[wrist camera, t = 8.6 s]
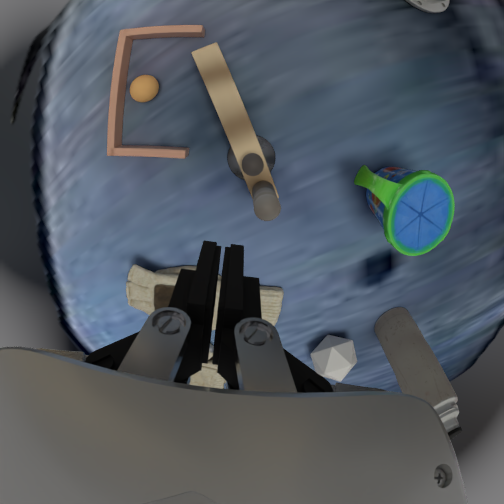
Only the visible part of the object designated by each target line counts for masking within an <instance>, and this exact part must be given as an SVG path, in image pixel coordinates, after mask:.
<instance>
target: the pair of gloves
mask: <svg viewBox="0 0 504 504" xmlns="http://www.w3.org/2000/svg"><path fill="white" fill-rule="evenodd" d="M196 267H197V266H181V267H173V268H167V269H162V270H157V271H156V272H155V273H154V272H152V271H150V270H147V269H145V268H142V267H141V266H138V265H136V264H134V265H133V266H132V268H131V269H130V271H129V274H128V280H129V281H127V282H126V286H127V287H126V292H127V298H128V303H129V305H130V306H133V307H134V308H135V309H139V310H142V311H144V312H146V313H147V314H149V315H150V314H151V313H152V312H154V311H155V310H157V309H160V308H164V307H168V305H169V302H170V299H171V296H172V293H173V290H174V287H175V284H176V281H177V278H178V276H179V273H180V270H181V269H190V270H196ZM220 285H221V276H220V275H219V274H218V281H217V290H216V300H215V308H214V316H213V324H212V330H216V320H217V311H218V302H219V293H220ZM283 294H284V293H283V289H282V288H279V287H268V286H260V298H261V313H262V319H264V320H266V321H268V322H270V323H271V324H272V325H273V326H274V325H275V324H276V322H277V319H278V317H279V314H280V311H281V307H282V305H281V304H282V299H283ZM213 351H214V347H213V346H212V344H211V343H210V348H209V357H208V364H206V363H202V370H201V371H199V372H197V373H195V374H194V375H192V376H191V381H190V384H189V385H196V386H204V387H212V388H221V389H224V383H226V380H225V379H224V378H223V377H222V376H221V375H219V374H218V373H217V368H218V365H214V364H212V361H213V357H212V356H213Z"/></svg>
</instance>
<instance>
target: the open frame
mask: <svg viewBox="0 0 504 504" xmlns="http://www.w3.org/2000/svg"><path fill="white" fill-rule="evenodd" d="M204 35H205V29H204V27H203V25H171V26H153V27H142V28H133V29H125V30H120V33H119V38H118V44H117V49H116V55H115V61H114V68H113V76H112V84H111V93H110V104H109V117H108V138H107V156H146V157H168V158H183V159H185V158H186V157H187V156H188V155H189V148H186V147H169V146H141V145H122V127H123V112H124V101H125V91H126V82H127V74H128V67H129V61H130V54H131V48H132V43H133V40H136V39H148V38H165V37H204Z"/></svg>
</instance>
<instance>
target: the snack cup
mask: <svg viewBox="0 0 504 504" xmlns="http://www.w3.org/2000/svg"><path fill="white" fill-rule="evenodd" d="M354 183H355V185H360V186H363V187H365V188H367V192H366V198H367V202H368V205H369V207H370V209H371V210H372V212H373V213H374V215H375V216H376V218H377V220H378V221H379V223H380V224H381V226H382V227H383V229H384V234H385V237H386V239H387V241H388V242H389V243H391V245H392V246H393V247H394V248H395V249H396V250H398V251H399V252H400V253H402V254H405V255H409V256H417V255H421V254H424V253H427V252H429V251H430V250H432V249H433V248H435V247H436V246H437V245H438V244H439V243H440V242H441V241H443V239H444V238H445V237H446V235H447V233H448V232H449V230H450V228H451V223H452V220H453V215H454V197H453V193H452V190H451V188H450V186H449V185H448V183H447V182H446V181H445V180H444V179H443V178H441V177H440V176H438V175H436V174H434V173H432V172H430V171H428V170H420V171H414V170H408V169H403V168H398V167H385V168H382V169H380V170H379V171H377V172H376V173H375V174H374V173H373V172H371V171H370V170H369V169H368V167H367V166H366V165H363V166H362V167H361V168H360V170H359V171H358V173H357V175H356V177H355V180H354Z"/></svg>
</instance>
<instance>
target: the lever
mask: <svg viewBox="0 0 504 504" xmlns="http://www.w3.org/2000/svg"><path fill="white" fill-rule="evenodd" d="M191 53H192V55H193V58H194V60H195V62H196V65H197V67H198V69H199V71H200V74H201V76H202V78H203V81H204V83H205V85H206V88H207V90H208V92H209V95H210V97H211V99H212V102H213V104H214V106H215V109H216V111H217V113H218V116H219V118H220V120H221V123H222V125H223V128H224V130H225V132H226V135H227V137H228V140H229V142H230V144H231V147H232V149H233V152H234V154H235V157H236V159H237V162H238V164H239V166H240V169H241V171H242V174H243V176H244V179H245V181H246V184H247V186H248V189H249V191H250V194H251V196H252V199H253V204H254V212H255V214H256V216H257V217H258V218H259V219H261V220H264V221H271V220H273V219H275V218H276V217H277V216H278V215H279V213H280V210H281V206H280V203H279V200H278V198H279V196H278V193H277V190H276V187H275V185H274V182H273V179H272V177H271V174H270V171H269V168H268V166H267V163H266V160H265V158H264V155H263V153H262V150H261V147H260V145H259V142H258V140H257V137H256V134H255V132H254V129H253V127H252V124H251V122H250V119H249V117H248V114H247V112H246V109H245V107H244V104H243V102H242V100H241V97H240V95H239V92H238V90H237V88H236V85H235V83H234V81H233V78H232V76H231V73H230V71H229V69H228V67H227V64H226V62H225V60H224V57H223V55H222V53H221V51H220V48H219V46H218V44H217V42H216V43H213V44H211V45H208V46H205V47H203V48H200V49H198V50H196V51H193V52H191Z"/></svg>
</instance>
